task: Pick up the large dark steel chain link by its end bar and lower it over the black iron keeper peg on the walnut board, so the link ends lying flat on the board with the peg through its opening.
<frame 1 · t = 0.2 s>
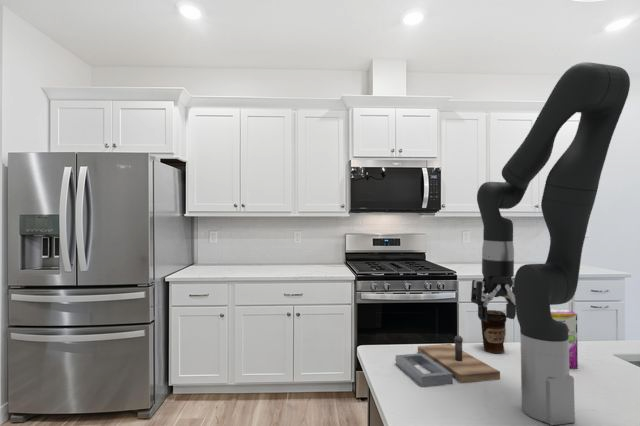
hand: (496, 319, 94), 17 cm above the countertop, tool pointing down, fingers open, 8 cm apart
coffee cup: (494, 351, 120), on the countertop
candy bar box: (554, 366, 108), on the countertop
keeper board: (454, 364, 108), on the countertop
chain link: (422, 373, 102), on the countertop
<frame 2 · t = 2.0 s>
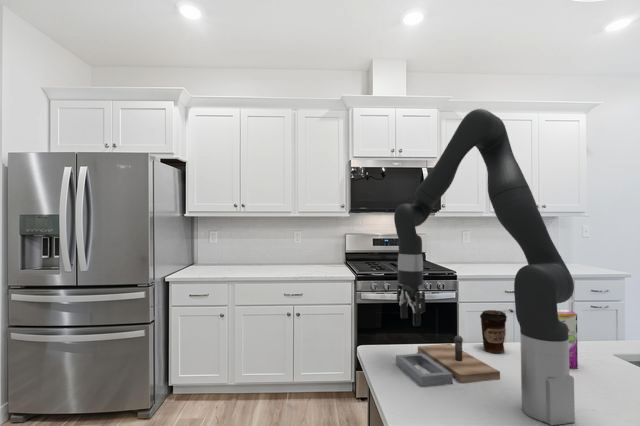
hand: (410, 321, 109), 13 cm above the countertop, tool pointing down, fingers open, 8 cm apart
nothing on the countertop moved.
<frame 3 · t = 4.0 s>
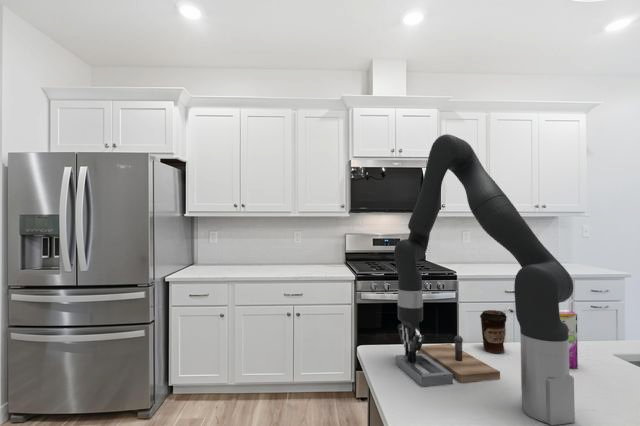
hand: (410, 361, 109), 1 cm above the countertop, tool pointing down, fingers closed on chain link
chain link: (422, 373, 102), on the countertop, touching gripper
everything else where it was.
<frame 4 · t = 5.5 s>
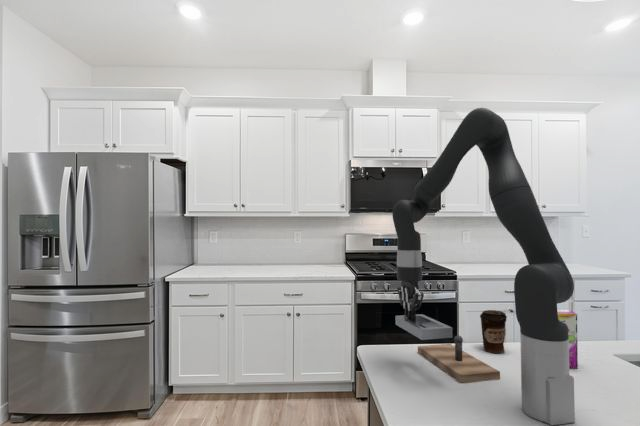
hand: (410, 321, 109), 13 cm above the countertop, tool pointing down, fingers closed on chain link
chain link: (422, 330, 102), point 12 cm above the countertop, touching gripper
everything else where it was.
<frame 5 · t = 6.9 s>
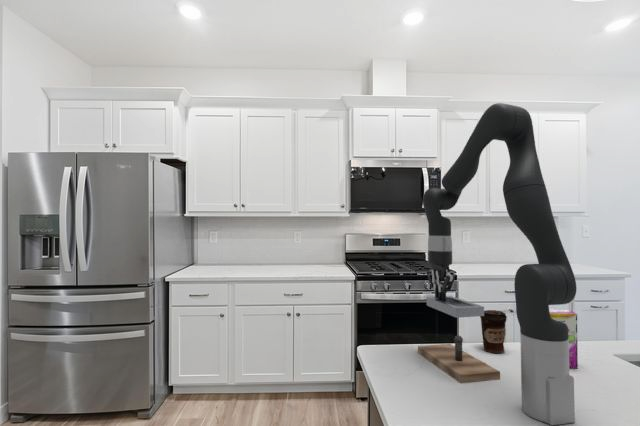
hand: (440, 302, 116), 17 cm above the countertop, tool pointing down, fingers closed on chain link
chain link: (453, 310, 109), point 16 cm above the countertop, touching gripper
everything else where it was.
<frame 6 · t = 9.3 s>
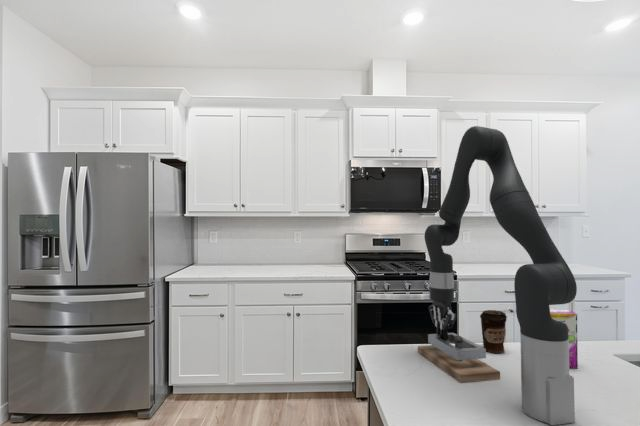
hand: (442, 339, 115), 5 cm above the countertop, tool pointing down, fingers closed on chain link
chain link: (455, 349, 108), point 4 cm above the countertop, touching gripper
everything else where it was.
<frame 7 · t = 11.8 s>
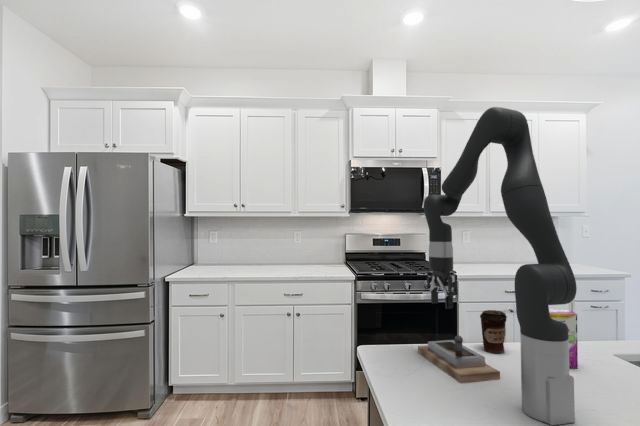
hand: (441, 305, 116), 16 cm above the countertop, tool pointing down, fingers open, 8 cm apart
chain link: (454, 357, 108), point 2 cm above the countertop, touching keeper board
everything else where it was.
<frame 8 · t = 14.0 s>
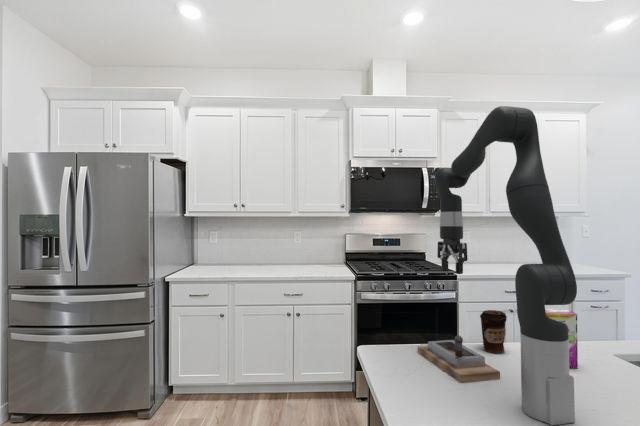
hand: (451, 272, 123), 26 cm above the countertop, tool pointing down, fingers open, 8 cm apart
nothing on the countertop moved.
at the end: chain link 2.1 cm from the target spot on the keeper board, point 2.0 cm above the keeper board's base; chain link tilted 0°; the gripper is holding nothing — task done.
